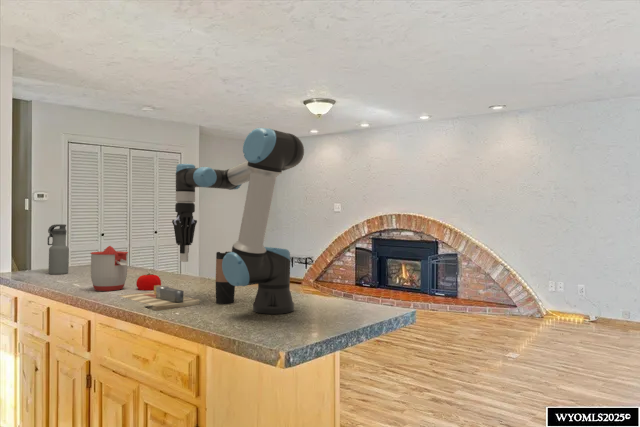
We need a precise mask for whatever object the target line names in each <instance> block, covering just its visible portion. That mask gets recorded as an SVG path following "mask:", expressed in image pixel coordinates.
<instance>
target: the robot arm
mask: <svg viewBox="0 0 640 427" xmlns="http://www.w3.org/2000/svg"><path fill="white" fill-rule="evenodd" d="M242 153H243V157H244V159H245V160H246V161H244V162H242V163H240V164H237V165H235V166H233V167H230V168H228V169H225V170H224V169H216V168H215V169H214V168H212V167H210V166H209V167H207V166H201V167H196V165H195V164H193V163H178V164H177V165H176V169H175V202H176V203H175V209H174V211H175V213H177V214H176V218H175V219H172V221H171V222H172V225H173V231H174V237H175V243H176V244H177V246H179V254H180V257H179V258H180V260H179V262H182V263H187V262H189V254H190V253H189V252H190V246H192V244H193V243H194V242H193V241H194V236H195V232H196V225H197V223H198V220H197V219H195V218H194V215H193V214H194V213H195V211H196V204H195V202H196V188H207V189H221V190H232V191H233V190H238V189H240V187H241V186H242V185H243V184H245V183H248V186H247V191H246V195H245V200H244V206H243V213H242V218H241V224H240V230H239V233H238V234H239V235H238V239H237V241H235V242H233V244H232V247H231V251H228V252H229V253H227V254H226V255H225V256H224V258H223V261H222V270H223V274H224V276H225V278H226V280H227V281H228V282H229V283H230V284H231V285H233V286H235V287H247V286H252V285H257V291H256V295H255V298H254V302H253V304H252V311H253V312H255V313H259V314H267V315H275V314H276V315H279V314H280V315H281V314H288V313H292V312H294V310H295V302H293V296H292V293H291V290H290V289H291V288H290V284H291V262H292V260H291V252H290V250H289V249H286V248H280V247H279V248H278V247H273V246H272V247H271V246H270V247H269V246H264V241H265V238H266V237H265V235H266V231H267V226H268V221H269V217H270V216H269V215H270V210H271V205H272V199H273V194H274V190H275V185H276V179H277V177H278V176H280V174H282V172H284V171H286V170H290V169H292V168H295V167H297V165H299V164H300V163H301V162H302V160H303V159H304V158H303V157H304V154H305V149H304V144H303V142H302V141H301V139H300V138H299V137H298V136H296V135H295V134H292V133H289V132H285V131H284V132H283V131H279V130H277V129H276V130H275V129H272V128H266V127H265V128H264V127H257V128H255V129H253V130H251V132H249V133H248V134H247V135H246V137H245V139H244V142H243V146H242Z"/></svg>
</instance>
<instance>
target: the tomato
mask: <svg viewBox="0 0 640 427" xmlns="http://www.w3.org/2000/svg"><path fill="white" fill-rule="evenodd" d="M154 285H161V286H162V281H161V277H160V276H159V275H157V274H154V273H150V272H149V273H148V274H142V275H140V276H138V277H137V279H136V284H135V286H136V287H137V289H138V290H139V291H146V292H151V291H154Z"/></svg>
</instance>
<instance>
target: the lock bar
mask: <svg viewBox="0 0 640 427" xmlns="http://www.w3.org/2000/svg"><path fill="white" fill-rule="evenodd" d="M184 297H185V296H184V290H183V289H182V290H181V289H177V288H173V287H169V286H167V285H166V286H165V285H161V286H158V287H156V298H158V299H164V300H167V301H171V302H176V303H180V302H183V299H184Z"/></svg>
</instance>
